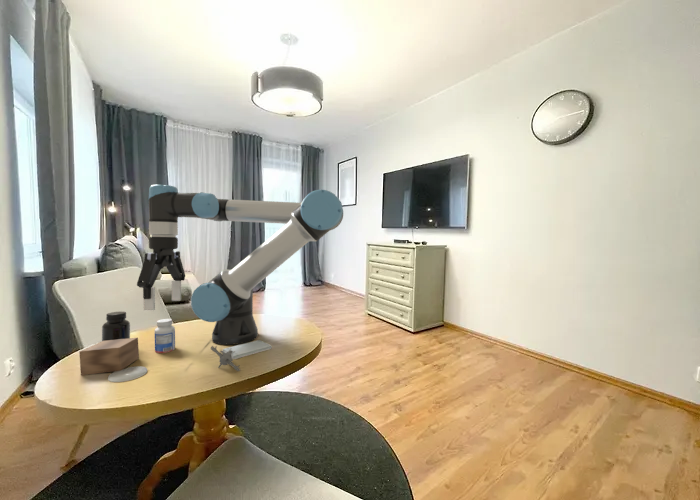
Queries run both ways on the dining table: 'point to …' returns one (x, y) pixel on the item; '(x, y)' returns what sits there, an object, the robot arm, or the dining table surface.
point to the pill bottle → (164, 336)
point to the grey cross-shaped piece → (225, 358)
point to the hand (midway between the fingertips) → (163, 304)
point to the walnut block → (109, 356)
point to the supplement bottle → (116, 327)
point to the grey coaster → (127, 374)
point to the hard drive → (247, 349)
